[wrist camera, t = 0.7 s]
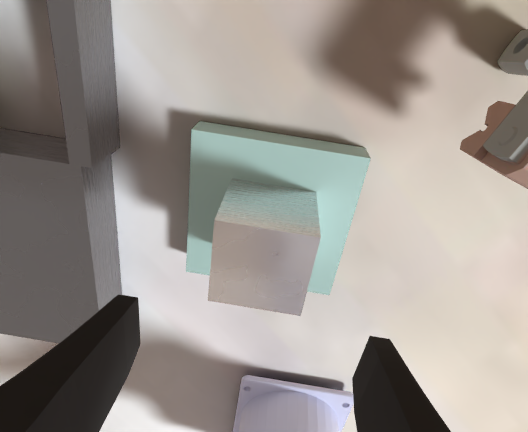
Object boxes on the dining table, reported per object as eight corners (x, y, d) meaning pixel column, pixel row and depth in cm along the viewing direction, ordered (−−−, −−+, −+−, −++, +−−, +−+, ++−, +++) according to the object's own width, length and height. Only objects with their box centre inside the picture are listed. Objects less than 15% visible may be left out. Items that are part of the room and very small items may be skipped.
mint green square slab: (327, 277, 21) (329, 295, 20) (193, 255, 21) (186, 271, 20) (365, 147, 17) (370, 158, 16) (199, 121, 17) (191, 129, 16)
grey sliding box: (130, 318, 24) (110, 354, 21) (14, 298, 24) (-21, 332, 21) (107, -46, 14) (64, -61, 11) (-91, -77, 14) (-179, -99, 12)
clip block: (300, 260, 19) (300, 316, 15) (224, 247, 19) (207, 300, 15) (316, 191, 17) (321, 237, 13) (231, 178, 17) (214, 220, 13)
